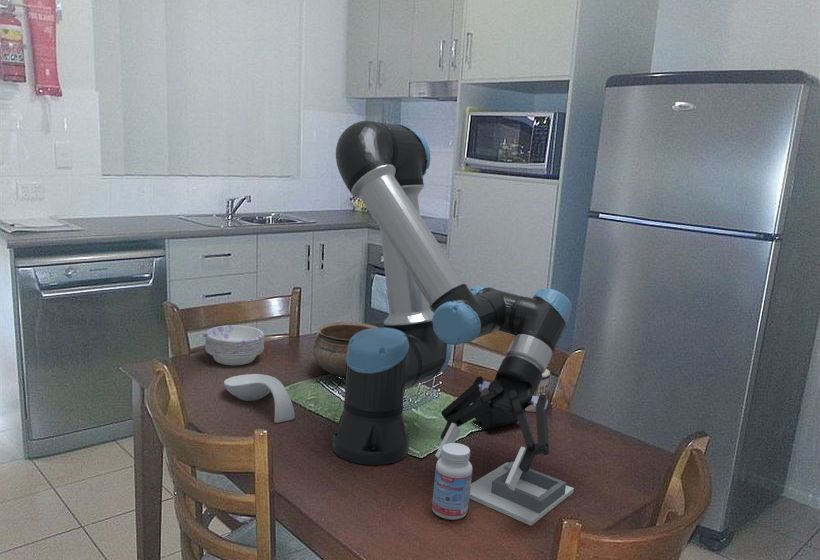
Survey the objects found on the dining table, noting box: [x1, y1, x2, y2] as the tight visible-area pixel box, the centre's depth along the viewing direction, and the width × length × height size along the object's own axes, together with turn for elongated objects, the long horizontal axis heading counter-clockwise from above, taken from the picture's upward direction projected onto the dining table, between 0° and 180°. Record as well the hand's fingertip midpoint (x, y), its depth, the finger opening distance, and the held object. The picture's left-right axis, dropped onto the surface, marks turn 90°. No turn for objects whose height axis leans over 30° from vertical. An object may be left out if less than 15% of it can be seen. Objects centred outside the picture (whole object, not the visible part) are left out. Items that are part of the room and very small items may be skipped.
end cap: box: [471, 394, 525, 431], centre depth 149 cm, size 10×7×7 cm
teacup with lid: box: [525, 368, 552, 413], centre depth 163 cm, size 12×9×12 cm
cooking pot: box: [312, 321, 380, 379], centre depth 173 cm, size 25×19×12 cm
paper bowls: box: [204, 324, 265, 366], centre depth 179 cm, size 15×15×8 cm
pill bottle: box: [431, 442, 473, 521], centre depth 110 cm, size 6×6×11 cm
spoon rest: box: [223, 373, 296, 424], centre depth 151 cm, size 24×12×7 cm, turn 39°
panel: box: [469, 461, 575, 527], centre depth 119 cm, size 14×16×3 cm
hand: (473, 473), depth 111 cm, fingers open, 13 cm apart
